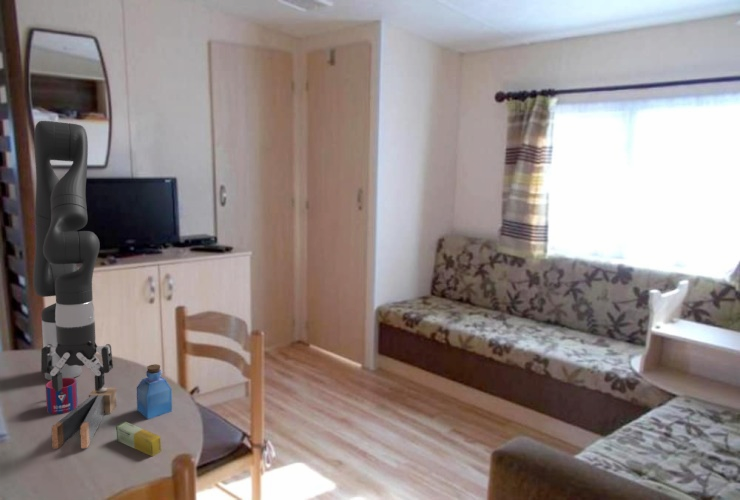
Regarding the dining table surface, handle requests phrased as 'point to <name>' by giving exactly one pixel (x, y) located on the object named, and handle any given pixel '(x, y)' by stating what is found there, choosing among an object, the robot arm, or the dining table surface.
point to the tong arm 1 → (71, 423)
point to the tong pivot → (107, 398)
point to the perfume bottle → (154, 394)
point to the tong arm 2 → (92, 421)
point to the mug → (62, 397)
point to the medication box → (138, 438)
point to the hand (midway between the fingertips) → (78, 389)
